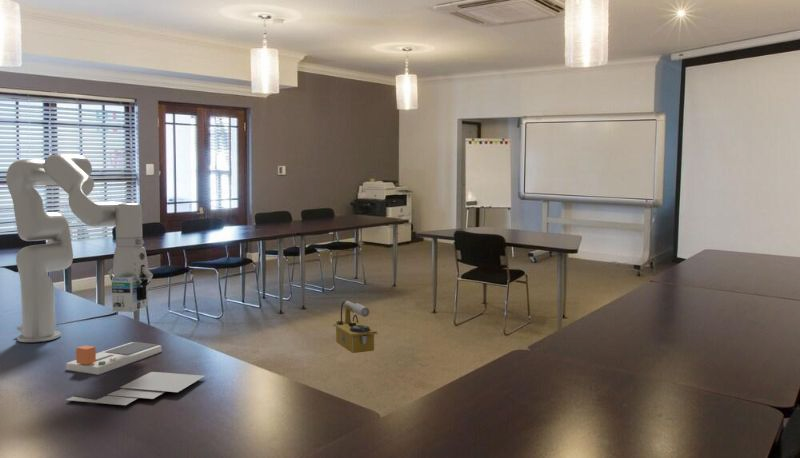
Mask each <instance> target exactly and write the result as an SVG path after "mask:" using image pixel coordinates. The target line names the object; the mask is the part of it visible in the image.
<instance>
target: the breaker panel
mask: <svg viewBox="0 0 800 458" xmlns="http://www.w3.org/2000/svg"><path fill="white" fill-rule="evenodd" d="M162 347H163V346H162V345H161V344H160V345H159V344H156V343H146V342H139V341H134V342H133V341H132V342H128V343H124V344H122V345H118V346H115V347H112V348H109V349H107V350H102V351H100V352H96V362H94V363H91V364H88V365H86V364H79V363H77V362H76V359H74V360H71V361H68V362H65V369H66V371H72V372H76V373H77V372H78V373H84V374H85V373H86V374H91V375H92V374H93V375H96V376H97V375H102V374H104V373H107V372H109V371H112V370H115V369H118V368H121V367H123V366H127V365H129V364H132V363H134V362H137V361H141V360H143V359H146V358H148V357H151V356H154V355H156V354H159V353H162Z"/></svg>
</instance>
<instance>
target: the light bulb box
mask: <svg viewBox="0 0 800 458" xmlns="http://www.w3.org/2000/svg"><path fill="white" fill-rule="evenodd" d="M139 277H140V276H139ZM140 281H141V280H140ZM141 283H142V281H141ZM137 288H139V286H138V285H137V280H136V278H135V277H134V276H125V275H117V276H114V277H112V281H111V297H112V298H111V300H112V301H111V302H112V303H111V305H112V307H111V308H112V312H116V313H118V312H120V313H121V312H122V313H123V312H125V313H127V312H128V313H133V312H134V313H135V312H136V311H138V310H141V309H143V308H145V307H148V306H149V285H148V286H147V287H146V299H145V300H140V301H138V300H137Z"/></svg>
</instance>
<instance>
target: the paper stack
mask: <svg viewBox="0 0 800 458" xmlns="http://www.w3.org/2000/svg"><path fill="white" fill-rule="evenodd" d="M204 377H205V375H199V374H186V373H176V372H175V373H174V372H159V371H151V372H150V371H149V372H148V373H146V374H144V375H142V376H140V377H138V378H135V379H134V380H132V381H130V382H128V383H126V384H124V385H121V386H120V387H119V389H118V390H116V391H113V392H110V393H108V394H105V395H103V396H101V397H98V398H96V399H95V398H89V397H84V396H78V395H74V396H71V397H69V398H66V401H73V402H82V403H83V402H86V403H95V404H107V405H116V406H117V405H118V406H127V405H129V404H131V403H132V402H134V401H136V400H138V399H149V400H154V399H156V398H157V397H159V396H161V395H163V394H164V393H167V392H168V393H169V392H170V393H179V392H181V391H183V390H184V389H186V388H187V387H189V386H190V385H192V384H195V383H196V382H197V381H199V380H201V379H202V378H204Z"/></svg>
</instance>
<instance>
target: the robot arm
mask: <svg viewBox="0 0 800 458" xmlns="http://www.w3.org/2000/svg"><path fill="white" fill-rule="evenodd" d="M92 171H93V167H92V163H91V162H90V161H89V159H88V158H87V157H85V156H83V155H81V154H69V153H68V154H67V153H65V154H64V153H56V154H54V153H53V154H51V155H50V156H48V157H46V159H32V158H31V159H29V158H27V159H19V160H16V161H14V162H12V163H11V164H10V165H9V167H8V168H7V172H6V175H5V179H6V185H7V186H6V187H7V189H8V191H9V194H10V197H11V200H12V205H13V212H14V213H13V214H14V219H15V226H16V231H17V234H18V237H19V238H20V239H21V240H23V241H25V242H36V241H37V242H39V241H47V242H48V243H42V244H40V243H39V244H33V245H28V246H25V247H23V248H21V249H20V250H19V251H18V252H17V253H16V258H15V261H16V262H15V263H16V266H17V270H18V275H19V281H20V295H21V299H20V300H21V320H22V323H21V324H20V326H17V327H16V330H17V331H20V334H19V335H18V336H17V337H16V338H17V342H20V343H40V342H42V343H43V342H48V341H53V340H55V339H58V338H60V337H61V335H62V333H61V331H59V330H56V311H55V308H56V307H55V306H56V305H55V304H56V303H55V286H54V282H53V280H52V279H51V277H50V276H49V274H48V273H50V272H57V271H62V270H66V269H68V268H70V267H71V265H72V263H73V260H74V253H73V252H74V251H73V243H72V236H71V230H70V229H71V228H70V226H69V223H68V220H67V218H66V217H65V215H63V214H62V213H60V212H57V211H56V212H55V211H45V208H44V202H43V198H42V196H41V194H40V193H39V192H38V190H37V189H35V187H34V186H59V187H60V188H61V189H63V191H64V192H65V193H66V194H68V198H67V199H68V206H69V208H70V211H71V213H72V214H74V216H76V217H77V218H78V219H79V220H80V221H81V222H82V223H84V224H85V225H87V226H89V227H91V228H92V227H94V228H95V227H96V228H98V227H112V226H115V247H114V252H113V262H112V263H113V265H112V266H113V267H112V268H111V269H109V270H108V271H107V274H108V275H109V278H110V280H111V282H112V277H114V276H117V275H125V276H134V277H135V278H136V280H137V285H138V286H139V288H137V300H138V301H140V300H145V299H146V287H147V286H148V287H149V283H151V280H152V278H153V276H154V274H153V273H152V272H151V271H150V270H149V262H148V257H147V252H146V251H147V250H146V247H144V246H143V245H144V243H145V241H144V239H143V208H142V205H141V204H140V203H137V202H123V201H93V200H91V199H90V198H89V197H88V196H89V195H90V194H91V192H92V191H93V190H94V187H95V181H94V178H92V177H91V175H92ZM139 276H140V277H139ZM140 280H141V281H142V283H141V281H140Z"/></svg>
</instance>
